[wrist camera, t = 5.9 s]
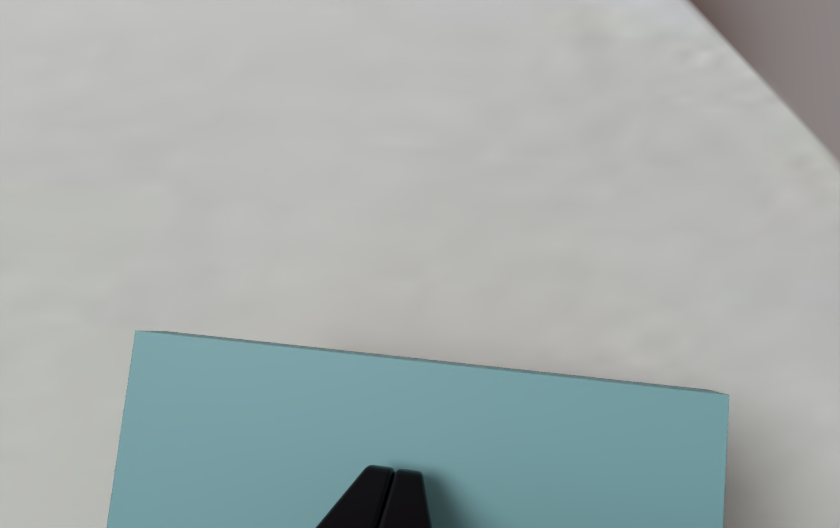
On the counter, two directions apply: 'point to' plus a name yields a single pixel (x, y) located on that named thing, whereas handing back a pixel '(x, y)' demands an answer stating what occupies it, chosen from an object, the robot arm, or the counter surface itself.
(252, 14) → the counter surface
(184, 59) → the counter surface
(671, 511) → the lid
